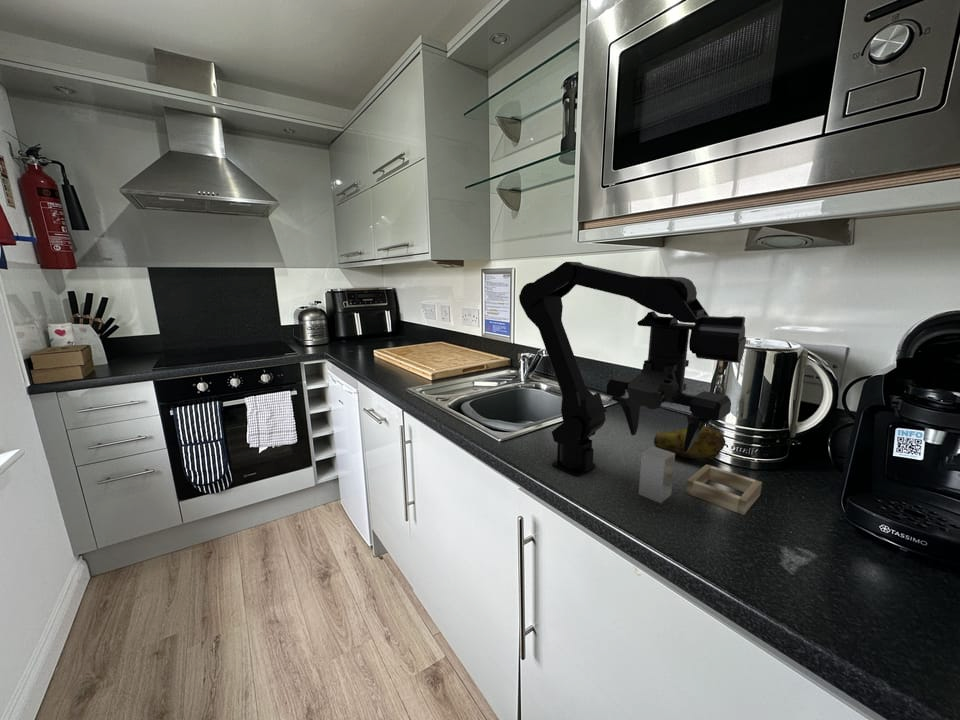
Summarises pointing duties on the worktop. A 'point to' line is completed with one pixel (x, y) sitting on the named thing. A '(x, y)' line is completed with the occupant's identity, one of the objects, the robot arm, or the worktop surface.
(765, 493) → the worktop surface
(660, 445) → the potato
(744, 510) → the frame
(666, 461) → the brushed grey square prism
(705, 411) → the robot arm
